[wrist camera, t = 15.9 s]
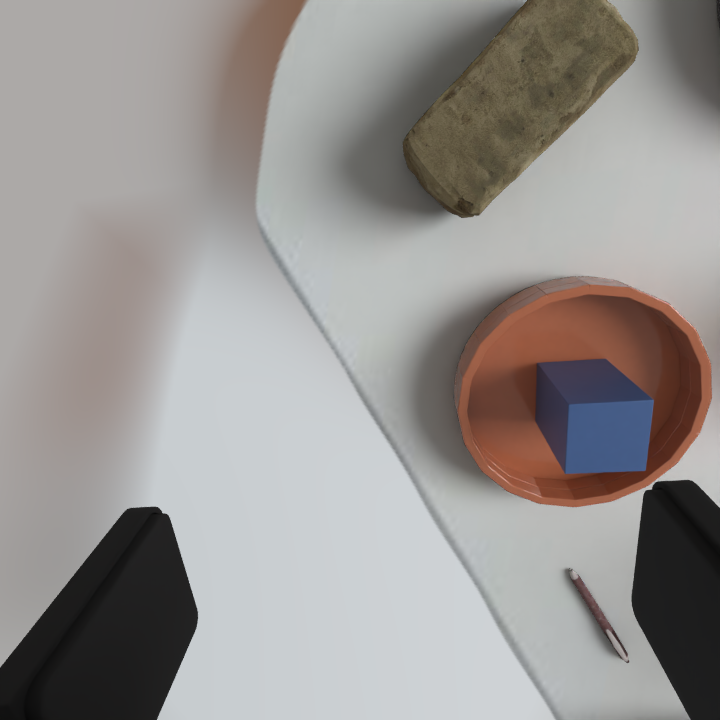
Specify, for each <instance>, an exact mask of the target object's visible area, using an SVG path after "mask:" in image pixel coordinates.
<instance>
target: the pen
mask: <svg viewBox="0 0 720 720" xmlns="http://www.w3.org/2000/svg"><path fill="white" fill-rule="evenodd" d="M569 569H570V568H569ZM569 573H570V576H571V579H572V581H573V583H574V584H575V586H576V587H577V589H578V591H579V592H580V594H581V596H582V597H583V599H584V601H585V602H586V604H587V605H588V607H589V609H590V610H591V612H592V614H593V615H594V617H595V619H596V620H597V622H598V624H599V625H600V627H601V629H602V630H603V632H604V633H605V635H606V636H607V638H608V639H609V641H610V642H611V644H612V646H613V647H614V649H615V650H616V652H617V653H618V655H619V656H620V657H621V659H623V660H624V661H625V662H627V663H629V656H628V654H627V652H626V650H625V648H624V647H623V645H622V643H621V642H620V640H619V638H618V637H617V635H616V633H615V631H614V630H613V628H612V627H611V625H610V623H609V622H608V620H607V619H606V617H605V616H604V614H603V612H602V611H601V609H600V608H599V606H598V605H597V603H596V602H595V600H594V598H593V597H592V595H591V594H590V592H589V591H588V589H587V587H586V586H585V584H584V583H583V581H582V580H581V578H580V576H579V575H578V574H577V573H576V572H575V571H574V570H573V569H570V570H569Z"/></svg>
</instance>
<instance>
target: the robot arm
mask: <svg viewBox="0 0 720 720" xmlns="http://www.w3.org/2000/svg"><path fill="white" fill-rule="evenodd" d="M632 607H633V611H634V614H635V617H636V619H637V621H638V623H639V625H640V627H641V629H642V631H643V632H644V634H645V636H646V638H647V640H648V642H649V644H650V645H651V647H652V649H653V651H654V653H655V655H656V656H657V658H658V660H659V662H660V664H661V666H662V667H663V669H664V671H665V673H666V675H667V677H668V679H669V680H670V682H671V684H672V686H673V688H674V690H675V691H676V693H677V695H678V697H679V699H680V701H681V702H682V704H683V706H684V708H685V710H686V712H687V714H688V715H689V717H690V719H691V720H720V508H719V507H718V506H717V505H716V504H715V503H714V502H713V501H712V500H711V499H710V498H709V496H708V495H707V494H706V493H705V492H704V491H703V490H702V489H701V488H700V487H699V486H698V485H697V484H696V483H694V482H693V481H690V480H678V481H658V482H656V483H655V484H654V485H653V488H652V490H647V491H645V493H644V496H643V503H642V512H641V521H640V529H639V538H638V546H637V555H636V564H635V572H634V581H633V589H632ZM197 621H198V611H197V607H196V604H195V600H194V597H193V594H192V590H191V587H190V584H189V580H188V577H187V574H186V571H185V567H184V564H183V561H182V557H181V554H180V550H179V547H178V544H177V541H176V537H175V534H174V530H173V527H172V524H171V520H170V518H169V516H168V515H167V514H163V513H162V511H161V510H160V509H159V508H158V507H140V508H130V509H127V510H126V511H125V512H124V513H123V514H122V515H121V516H120V518H119V519H118V520H117V522H116V523H115V524H114V525H113V527H112V528H111V529H110V530H109V532H108V533H107V534H106V535H105V537H104V538H103V539H102V540H101V542H100V543H99V544H98V545H97V547H96V548H95V549H94V551H93V552H92V553H91V554H90V556H89V557H88V558H87V559H86V560H85V562H84V563H83V565H82V566H81V567H80V568H79V569H78V571H77V572H76V573H75V574H74V576H73V577H72V578H71V579H70V581H69V582H68V583H67V585H66V586H65V587H64V588H63V589H62V591H61V592H60V593H59V595H58V596H57V597H56V598H55V599H54V601H53V602H52V603H51V605H50V606H49V607H48V609H47V610H46V611H45V612H44V613H43V615H42V616H41V617H40V619H39V620H38V621H37V622H36V623H35V625H34V626H33V627H32V628H31V630H30V631H29V633H27V635H26V636H25V637H24V638H23V640H22V641H21V642H20V644H19V645H18V646H17V647H16V649H15V650H14V651H13V652H12V654H11V655H10V656H9V657H8V659H7V660H6V661H5V662H4V664H3V665H2V666H1V667H0V720H157V718H158V716H159V713H160V711H161V708H162V706H163V704H164V702H165V699H166V697H167V695H168V692H169V690H170V688H171V685H172V683H173V681H174V679H175V676H176V674H177V672H178V669H179V667H180V665H181V662H182V660H183V658H184V656H185V653H186V651H187V648H188V646H189V644H190V642H191V639H192V637H193V635H194V632H195V630H196V627H197Z"/></svg>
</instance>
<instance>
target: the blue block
mask: <svg viewBox="0 0 720 720" xmlns="http://www.w3.org/2000/svg"><path fill="white" fill-rule="evenodd" d="M653 404H654V400H653V399H652V398H651V397H650V396H649V395H647V394H646V393H645V392H644V391H643V390H642V389H640V388H639V387H638V386H637V385H636V384H635V383H633V382H632V381H631V380H630V379H629V378H628V377H626V376H625V375H624V374H623V373H622V372H621V371H619V370H618V369H617V368H616V367H615V366H614V365H613V364H611V363H610V362H609V361H608V360H607V359H591V360H575V361H559V362H542V363H537V379H536V414H535V422H536V424H537V425H538V427H539V429H540V431H541V432H542V434H543V436H544V438H545V439H546V441H547V443H548V445H549V447H550V448H551V450H552V452H553V454H554V455H555V457H556V459H557V461H558V462H559V464H560V466H561V468H562V470H563V471H564V473H565V474H577V473H603V472H629V471H645V470H646V463H647V455H648V446H649V438H650V429H651V421H652V412H653Z"/></svg>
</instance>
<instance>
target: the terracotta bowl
mask: <svg viewBox="0 0 720 720" xmlns="http://www.w3.org/2000/svg"><path fill="white" fill-rule="evenodd" d="M591 359H607V360H608V361H609V362H610V363H611V364H613V365H614V366H615V367H616V368H617V369H618V370H619V371H621V372H622V373H623V374H624V375H625V376H626V377H628V378H629V379H630V380H631V381H632V382H633V383H635V384H636V385H637V386H638V387H639V388H640V389H642V390H643V391H644V392H645V393H646V394H647V395H649V396H650V397H651V398H652V399H653V400H654V404H653V412H652V421H651V429H650V438H649V446H648V455H647V463H646V470H645V471H629V472H603V473H577V474H565V473H564V471H563V470H562V468H561V466H560V464H559V462H558V461H557V459H556V457H555V455H554V454H553V452H552V450H551V448H550V447H549V445H548V443H547V441H546V439H545V438H544V436H543V434H542V432H541V431H540V429H539V427H538V425H537V424H536V422H535V414H536V379H537V363H542V362H559V361H575V360H591ZM711 398H712V388H711V363H710V360H709V358H708V355H707V353H706V351H705V349H704V346H703V344H702V342H701V339H700V337H699V335H698V333H697V330H696V329H695V328H694V327H693V326H692V325H691V324H690V323H689V322H688V321H687V320H686V319H685V318H684V317H683V316H682V315H681V314H680V313H679V312H677V311H676V310H675V309H674V308H673V307H672V306H671V305H670V304H669V303H667V302H665V301H663V300H661V299H658V298H656V297H654V296H652V295H650V294H647V293H645V292H643V291H640V290H638V289H635V288H633V287H631V286H628V285H626V284H624V283H621V282H619V281H616V280H609V279H605V278H598V277H589V276H586V277H567V278H560V279H554V280H550V281H547V282H543V283H539V284H537V285H534V286H532V287H529V288H527V289H525V290H523V291H521V292H519V293H517V294H515V295H514V296H512V297H510V298H509V299H507V300H506V301H504V302H503V303H502V304H500V305H499V306H497V307H496V308H495V309H494V310H493V311H492V312H491V313H490V314H489V315H487V316H486V317H485V319H484V320H483V321H482V322H481V323H480V324H479V326H478V327H477V328H476V329H475V331H474V332H473V334H472V335H471V337H470V338H469V340H468V342H467V344H466V346H465V348H464V350H463V352H462V354H461V357H460V360H459V363H458V366H457V371H456V376H455V386H454V401H455V405H456V410H457V415H458V419H459V424H460V429H461V433H462V437H463V441H464V444H465V446H466V447H467V449H468V450H469V452H470V454H471V455H472V457H473V458H474V460H475V461H476V463H477V465H478V466H479V468H480V469H481V470H482V472H484V473H485V474H486V475H487V476H489V477H490V478H491V479H492V480H494V481H495V482H496V483H497V484H499V485H500V486H501V487H502V488H504V489H505V490H506V491H508V492H510V493H513V494H515V495H518V496H520V497H523V498H525V499H528V500H531V501H533V502H536V503H538V504H539V503H540V504H547V505H557V506H567V507H580V506H586V505H593V504H599V503H605V502H611V501H614V500H616V499H619V498H621V497H623V496H626V495H628V494H630V493H633V492H635V491H638V490H640V489H642V488H645V487H646V486H648V485H650V484H651V483H652V482H654V481H655V480H656V479H657V478H659V477H660V476H661V475H663V474H664V473H665V472H667V471H668V470H669V469H671V468H672V467H673V466H674V465H676V464H677V463H678V461H679V460H680V459H681V457H682V456H683V455H684V453H685V452H686V451H687V449H688V448H689V447H690V445H691V444H692V443H693V441H694V440H695V439H696V437H697V436H698V435H699V433H700V431H701V428H702V425H703V422H704V420H705V417H706V414H707V411H708V408H709V405H710V402H711Z"/></svg>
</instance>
